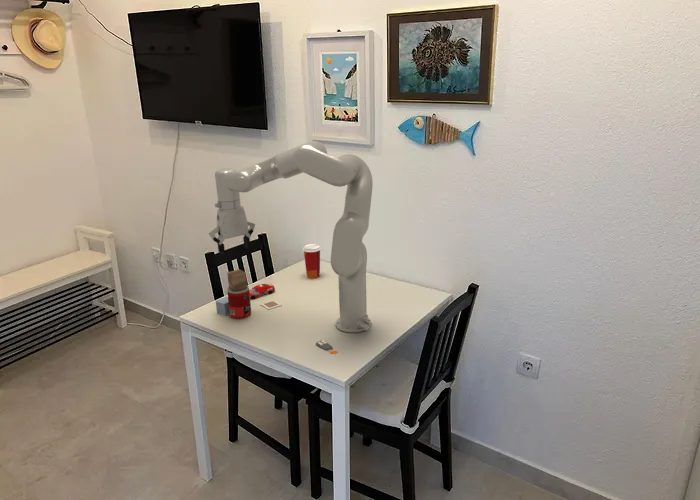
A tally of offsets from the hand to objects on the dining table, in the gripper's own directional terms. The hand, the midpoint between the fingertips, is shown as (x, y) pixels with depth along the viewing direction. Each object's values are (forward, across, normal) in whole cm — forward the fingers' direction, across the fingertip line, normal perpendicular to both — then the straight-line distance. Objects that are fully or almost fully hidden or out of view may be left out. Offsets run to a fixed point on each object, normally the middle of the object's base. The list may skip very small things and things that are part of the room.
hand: (234, 250), depth 193 cm
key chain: (+27, +10, -43) cm, 51 cm away
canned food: (+26, 0, 0) cm, 26 cm away
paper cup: (+26, +42, +14) cm, 51 cm away
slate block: (+25, -3, +6) cm, 26 cm away
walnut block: (+14, 0, 0) cm, 15 cm away
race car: (+26, +14, +13) cm, 32 cm away
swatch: (+26, +13, 0) cm, 28 cm away
